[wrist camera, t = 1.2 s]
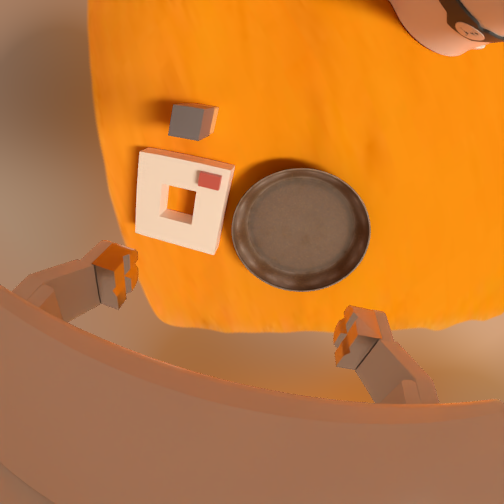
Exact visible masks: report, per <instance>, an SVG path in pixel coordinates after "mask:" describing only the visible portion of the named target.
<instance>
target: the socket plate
mask: <svg viewBox="0 0 504 504" xmlns="http://www.w3.org/2000/svg"><path fill="white" fill-rule="evenodd" d="M234 169H235V165H232V164H228V163H224V162H219V161H215V160H210V159H206V158H201V157H197V156H192V155H187V154H182V153H177V152H172V151H167V150H161V149H156V148H150V147H149V148H146V149H144V150H142V151H140V153H139V164H138V178H137V195H136V233H138V234H142V235H145V236H148V237H152V238H155V239H159V240H162V241H166V242H169V243H173V244H176V245H180V246H183V247H187V248H190V249H194V250H197V251H201V252H205V253H208V254H212V255H214V254H215V252H216V250H217V248H218V246H219V241H220V236H221V231H222V226H223V221H224V216H225V211H226V206H227V201H228V196H229V192H230V187H231V182H232V178H233V173H234ZM169 185H171V186H175V187H179V188H183V189H188V190H192V191H196V198H195V204H194V211H193V215H189V214H185V213H181V212H178V211H174V210H170V209H167V200H168V190H169Z"/></svg>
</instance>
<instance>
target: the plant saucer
mask: <svg viewBox="0 0 504 504" xmlns="http://www.w3.org/2000/svg"><path fill="white" fill-rule="evenodd" d="M370 233H371V227H370V219H369V215H368V212H367V209H366V207H365V205H364V203H363V201H362V199H361V198H360V196H359V195H358V194H357V193H356V192H355V190H354V189H353V188H352V187H351V186H349V185H348V184H347V183H346V182H344V181H343V180H341V179H340V178H338V177H336V176H334V175H332V174H329V173H327V172H324V171H320V170H316V169H309V168H294V169H287V170H282V171H279V172H276V173H273V174H271V175H269V176H267V177H265V178H263V179H261V180H260V181H258V182H257V183H256V184H254V185H253V186H252V187H251V188H250V189H249V190H248V191H247V192H246V193H245V194H244V195H243V197H242V198H241V200H240V201H239V203H238V205H237V207H236V210H235V212H234V216H233V221H232V240H233V244H234V247H235V250H236V252H237V255H238V257H239V258H240V260H241V261H242V263H243V264H244V265H245V267H246V268H247V269H248V270H249V271H250V272H251V273H252V274H253V275H255V276H256V277H257V278H259V279H260V280H262V281H263V282H265V283H267V284H269V285H271V286H274V287H276V288H279V289H283V290H288V291H296V292H307V291H315V290H320V289H324V288H327V287H329V286H332V285H334V284H336V283H338V282H340V281H341V280H343V279H344V278H346V277H347V276H348V275H349V274H351V273H352V272H353V271H354V270H355V269H356V267H357V266H358V265H359V264H360V262H361V261H362V259H363V257H364V256H365V253H366V251H367V248H368V245H369V241H370Z"/></svg>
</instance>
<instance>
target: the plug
mask: <svg viewBox="0 0 504 504" xmlns="http://www.w3.org/2000/svg"><path fill="white" fill-rule="evenodd" d="M218 109H219V107H214V106H209V105H203V104H196V103H181V104H173V109H172V115H171V121H170V127H169V134H168V135H169V136H175V137H180V138H186V139H191V140H196V141H199V140H201V139H203V138H205V137H207V136H209V134H211V133H213V132H214V128H215V123H216V118H217V113H218Z"/></svg>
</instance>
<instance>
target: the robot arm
mask: <svg viewBox="0 0 504 504" xmlns="http://www.w3.org/2000/svg"><path fill="white" fill-rule="evenodd" d="M389 1H390V2H391V4H392V6H393V7H394V10H395V12H396V14H397V16H398V18H399V19H400V21H401V23H402V24H403V26H404V27H405V28H406V29H407V31H408V32H409V33H410V34H411V35H412V36H413V37H414V38H415V39H416V40H417V41H419V42H420V43H421V44H422V45H424V46H425V47H427V48H428V49H430V50H432V51H434V52H436V53H439V54H442V55H446V56H458V55H461V54H463V53H465V52H466V51H468V50H470V49H482V48H484V47H485V45H486V44H489V43H495V42H504V0H389ZM137 260H138V252H137V251H136V250H135V249H132V248H129V247H126V246H123V245H119V244H116V243H113V242H110V241H107V240H102V241H101V242H99V243H98V244H97V245H96V246H95V247H94V248H93V249H92V250H91V251H90V252H89V253H87V254H86V255H85V256H84V257H83V258H82V259H81V260H78V259H76V260H73V261H70V262H67V263H64V264H60V265H57V266H54V267H51V268H48V269H45V270H42V271H39V272H36V273H33V274H30V275H28V276H27V277H26V278H25V279H24V280H23V281H22V282H21V283H20V284H19V285H18V286H17V287H16V288H15V289H14V290H13V291H12V292H11V291H9V290H8V289H6V288H5V287H3V286H2V285H0V504H504V403H503V402H502V401H501V400H499V399H489V400H482V401H472V402H461V403H446V404H445V403H444V404H439V400H438V397H437V393H436V389H435V386H434V383H433V380H432V379H431V378H430V377H429V376H428V375H427V374H426V372H425V371H424V370H423V369H422V368H421V367H420V366H419V365H418V364H417V363H416V362H415V360H414V359H413V358H412V357H411V356H410V355H409V354H408V353H407V352H406V351H405V350H404V349H403V348H402V347H401V346H400V344H399V343H397V342H394V339H393V336H392V333H391V330H390V326H389V323H388V320H387V317H386V314H385V313H384V312H383V311H377V310H370V309H365V308H360V307H356V306H351V305H349V306H348V307H347V308H346V310H345V311H344V317H345V318H343V319H342V320H340V321H339V322H338V324H337V326H336V328H335V331H334V338H333V339H334V345H335V346H336V347H337V350H336V352H335V362H336V367H342V368H347V369H353V370H355V371H356V373H357V375H358V376H359V378H360V379H361V381H362V382H363V384H364V386H365V387H366V389H367V391H368V392H369V394H370V395H371V397H372V399H373V400H374V402H375V403H365V402H352V401H341V400H332V399H324V398H317V397H309V396H303V395H296V394H290V393H284V392H279V391H273V390H268V389H263V388H258V387H254V386H249V385H245V384H240V383H236V382H232V381H228V380H224V379H220V378H216V377H212V376H209V375H205V374H201V373H198V372H194V371H191V370H188V369H184V368H181V367H178V366H175V365H172V364H169V363H165V362H163V361H159V360H157V359H154V358H151V357H148V356H145V355H142V354H140V353H137V352H134V351H132V350H129V349H127V348H124V347H122V346H119V345H117V344H114V343H112V342H109V341H107V340H105V339H102V338H100V337H98V336H95V335H93V334H91V333H88V332H87V331H84V330H82V329H80V328H78V327H76V326H74V325H72V324H70V323H68V322H69V321H71V320H73V319H75V318H76V317H78V316H80V315H82V314H84V313H85V312H87V311H89V310H91V309H93V308H95V307H97V306H98V305H100V303H101V304H104V305H106V306H109V307H112V308H115V309H118V310H119V309H120V307H121V306H122V304H123V303H124V302H125V300H126V299H127V298H126V294H127V293H129V292H132V291H133V289H134V288H135V286H136V283H137V280H138V268H137V266H136V264H135V263H136V261H137Z"/></svg>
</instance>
